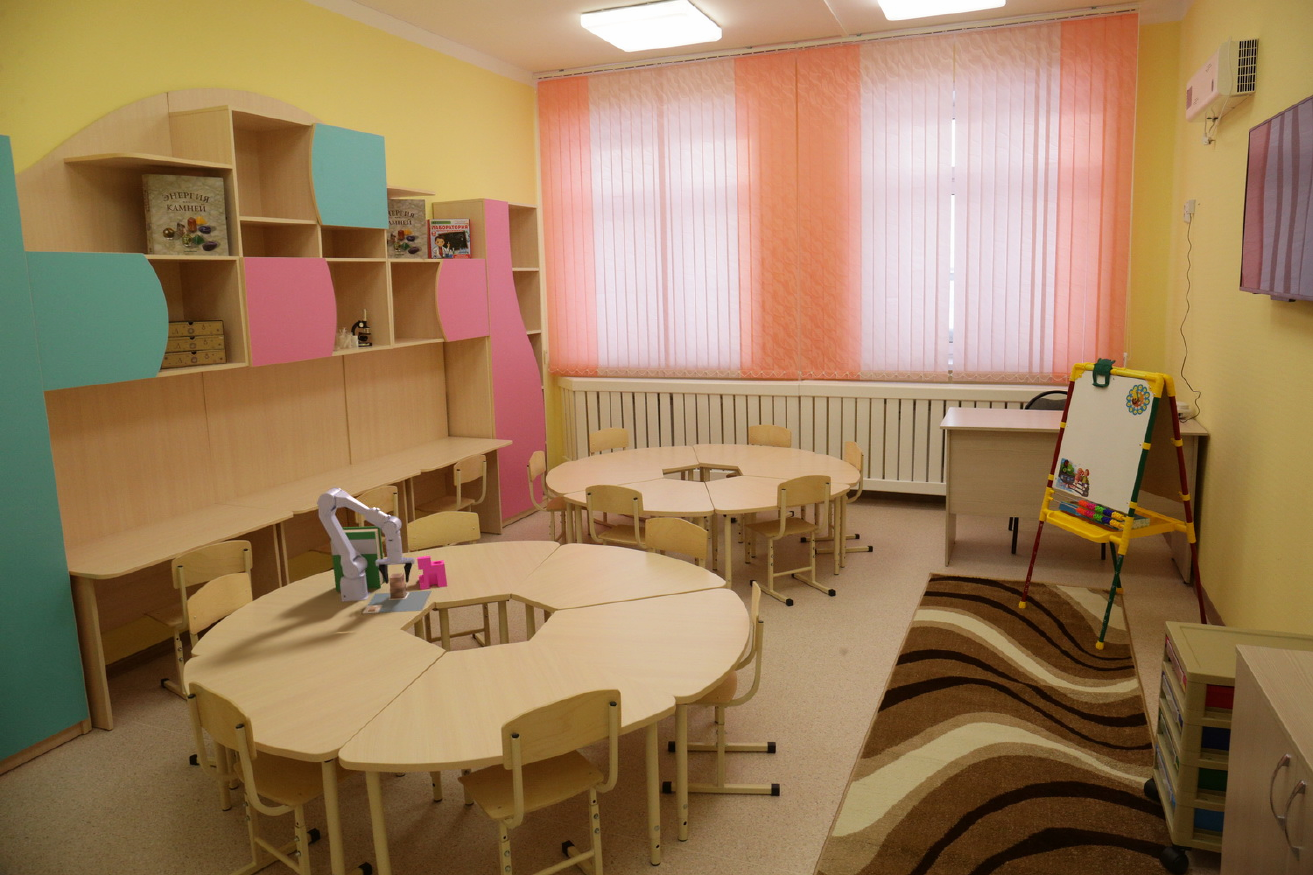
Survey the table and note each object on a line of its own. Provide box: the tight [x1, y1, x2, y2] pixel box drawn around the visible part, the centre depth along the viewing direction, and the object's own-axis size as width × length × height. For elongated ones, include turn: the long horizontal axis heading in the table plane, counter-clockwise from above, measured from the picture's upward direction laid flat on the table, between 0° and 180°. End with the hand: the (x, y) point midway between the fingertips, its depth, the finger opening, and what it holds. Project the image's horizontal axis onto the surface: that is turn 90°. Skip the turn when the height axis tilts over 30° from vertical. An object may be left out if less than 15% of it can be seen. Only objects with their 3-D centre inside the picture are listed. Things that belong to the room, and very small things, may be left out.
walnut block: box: [389, 583, 408, 599], centre depth 345 cm, size 5×5×4 cm
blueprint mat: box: [361, 590, 432, 615], centre depth 339 cm, size 22×20×1 cm
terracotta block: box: [388, 572, 406, 590], centre depth 344 cm, size 4×4×4 cm
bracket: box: [416, 555, 448, 591], centre depth 357 cm, size 12×10×10 cm
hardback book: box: [329, 525, 386, 592], centre depth 356 cm, size 18×7×24 cm, turn 90°
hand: (397, 582), depth 344 cm, fingers open, 7 cm apart
